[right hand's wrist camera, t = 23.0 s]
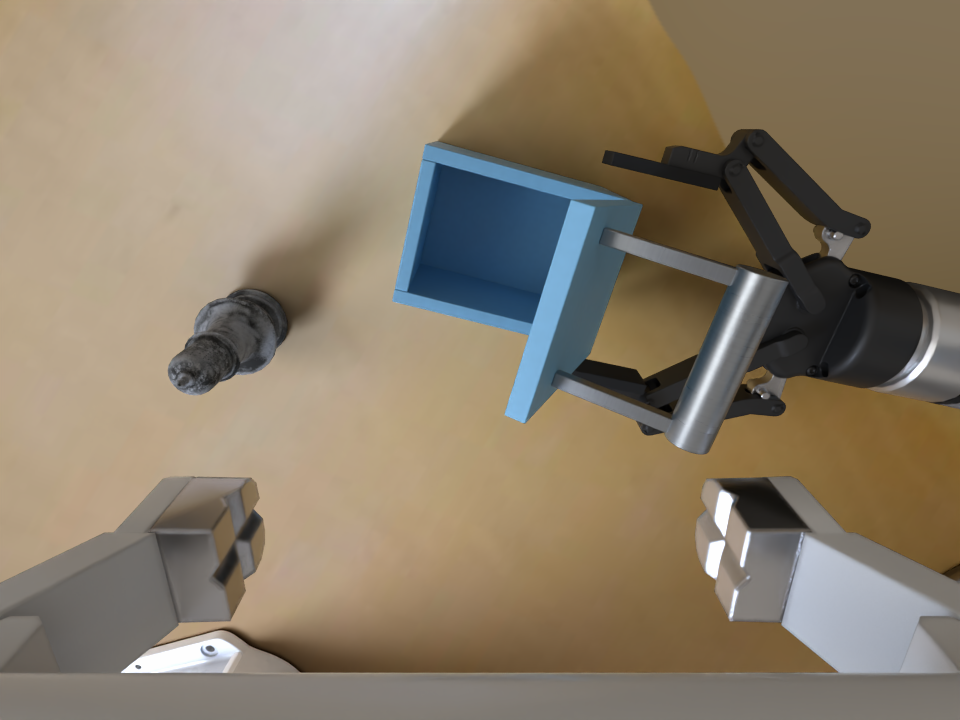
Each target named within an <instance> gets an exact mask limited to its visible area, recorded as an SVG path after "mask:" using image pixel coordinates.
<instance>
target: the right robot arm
mask: <svg viewBox="0 0 960 720" xmlns="http://www.w3.org/2000/svg"><path fill="white" fill-rule="evenodd" d="M258 500H259V494H258V489H257V484H256V482H255V481H254V480H253V479H252V478H232V477H168V478H164V479H162V480H161V481H160V483H159V484H158V485H157V486H156V487H155V488H154V489H153V490H152V491H151V492H150V493H149V495H148V496H147V497H146V498H145V499H144V500H143V501H142V502H141V503H140V504H139V505H138V507H137V508H136V509H135V510H134V511H133V512H132V513H131V514H130V515H129V516H128V517H127V519H126V520H125V521H124V522H123V523H122V524H121V525H120V526H119V527H118V528H117V529H116V531H115V532H114V533H103V534H101V535H99V536H96V537H94V538H92V539H90V540H88V541H86V542H84V543H82V544H80V545H78V546H76V547H74V548H72V549H70V550H67V551H65V552H63V553H61V554H59V555H57V556H55V557H53V558H51V559H49V560H47V561H45V562H43V563H41V564H38V565H36V566H34V567H32V568H30V569H28V570H26V571H24V572H22V573H20V574H18V575H16V576H14V577H11V578H9V579H7V580H5V581H3V582H1V583H0V720H960V583H959V582H957V581H954V580H952V579H950V578H948V577H946V576H944V575H942V574H940V573H938V572H936V571H934V570H932V569H930V568H928V567H926V566H923V565H921V564H919V563H917V562H915V561H913V560H911V559H909V558H907V557H905V556H903V555H901V554H899V553H897V552H895V551H892V550H890V549H888V548H886V547H884V546H882V545H880V544H878V543H876V542H874V541H872V540H870V539H868V538H866V537H864V536H861V535H859V534H857V533H846V532H845V531H844V529H843V528H842V527H841V526H840V525H839V524H838V523H837V522H836V521H835V520H834V519H833V517H832V516H831V515H830V514H829V513H828V512H827V511H826V510H825V509H824V508H823V507H822V505H821V504H820V503H819V502H818V501H817V500H816V499H815V498H814V497H813V496H812V495H811V493H810V492H809V491H808V490H807V489H806V488H805V487H804V486H803V485H802V484H801V483H800V481H799V480H798V479H796V478H793V477H791V476H783V477H762V478H719V479H706V481H705V483H704V485H703V488H702V493H701V500H702V502H703V503H704V505H705V507H706V508H707V509H706V510H705V511H704V512H703V513H702V514H701V515H700V516H699V517H698V518H697V523H696V530H695V542H696V551H697V554H698V558H699V561H700V563H701V565H702V567H703V570H704V572H706V573H707V574H708V575H710V576H711V577H713V578H714V579H716V584H715V590H714V591H715V593H716V595H717V597H718V599H719V601H720V603H721V605H722V607H723V609H724V611H725V613H726V615H727V616H728V618H729V620H730V621H743V622H779V623H782V624H781V625H782V626H783V627H784V628H786V629H787V630H788V631H789V632H790V633H792V634H793V635H794V636H795V637H797V638H798V639H799V640H800V641H801V642H803V643H804V644H805V645H806V646H807V647H809V648H810V649H811V650H812V651H814V652H815V653H816V654H817V655H818V656H820V657H821V658H822V659H823V660H824V661H826V662H827V663H828V664H829V665H831V666H832V667H833V668H834V669H835V670H837V671H838V672H839V673H300V672H299V671H298V670H297V669H296V668H294V667H293V666H292V665H291V664H289V663H288V662H286V661H284V660H283V659H281V658H279V657H277V656H275V655H272V654H270V653H267V652H264V651H261V650H258V649H256V648H253V647H251V646H249V645H248V644H246V643H245V642H244V641H243V640H241V639H240V638H238V637H237V636H235V635H234V634H232V633H230V632H228V631H224V630H219V631H215V632H211V633H207V634H203V635H200V636H196V637H192V638H188V639H185V640H181V641H177V642H173V643H170V644H166V645H162V646H158V647H155V648H152V647H153V646H154V645H155V644H156V643H158V642H159V641H160V640H161V639H162V638H164V637H165V636H166V635H167V634H169V633H170V632H171V631H172V630H173V629H175V628H176V627H177V626H178V625H179V624H178V623H181V622H216V621H230V620H231V619H232V617H233V615H234V613H235V611H236V609H237V607H238V605H239V603H240V601H241V599H242V597H243V595H244V593H245V591H246V590H245V584H244V579H246V578H247V577H249V576H250V575H252V574H253V573H254V572H256V570H257V567H258V565H259V563H260V561H261V558H262V554H263V549H264V545H265V528H264V522H263V518H262V517H261V516H260V515H259V514H258V513H257V512H256V511H255V510H254V509H253V508H254V507H255V505H256V503H257V502H258ZM150 648H151V649H150Z"/></svg>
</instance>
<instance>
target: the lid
mask: <svg viewBox="0 0 960 720" xmlns="http://www.w3.org/2000/svg"><path fill="white" fill-rule="evenodd" d="M642 206H643V205H642V204H639V203H636V202H632V201H629V200H575V199H573V200H571V202H570V205H569V208H568V211H567V214H566V218H565V221H564V224H563V227H562V231H561V234H560V237H559V240H558V244H557V247H556V250H555V253H554V256H553V260H552V263H551V266H550V269H549V273H548V276H547V279H546V282H545V285H544V289H543V292H542V295H541V298H540V302H539V305H538V308H537V311H536V315H535V318H534V321H533V324H532V327H531V331H530V334H529V337H528V340H527V344H526V347H525V350H524V353H523V356H522V360H521V363H520V366H519V369H518V373H517V376H516V379H515V382H514V386H513V389H512V392H511V395H510V398H509V402H508V405H507V408H506V411H505V415H506V416H508V417H511V418H513V419H515V420H517V421H520V422H522V423H526V422H527V421H528V420H529V419H530V418H531V417H532V416H533V415H534V413H535V412H536V411H537V410H538V409H539V408H540V407H541V406H542V405H543V404H544V403H545V402H546V401H547V399H548V398H549V397H550V396H551V395H552V394H553V393H554V392H555V391H556V390H557V389H560V390H562V391H565V392H567V393H570V394H572V395H575V396H577V397H580V398H582V399H584V400H587V401H589V402H592V403H594V404H597V405H599V406H602V407H604V408H606V409H609V410H611V411H614V412H616V413H619V414H621V415H624V416H626V417H628V418H631V419H633V420H636V421H638V422H641V423H643V424H646V425H648V426H650V427H653V428H655V429H658V430H660V431H663V432H665V437H666V438H667V439H668V440H669V441H670V442H671V443H672V444H674V445H675V446H677V447H679V448H681V449H683V450H685V451H688V452H691V453H695V454H707V453H708V452H709V451H710V448H711V446H712V444H713V442H714V440H715V438H716V436H717V434H718V431H719V429H720V427H721V425H722V423H723V421H724V419H725V417H726V414H727V412H728V410H729V408H730V406H731V404H732V402H733V400H734V397H735V395H736V393H737V391H738V389H739V387H740V385H741V383H742V380H743V378H744V376H745V374H746V372H747V370H748V368H749V366H750V363H751V361H752V359H753V357H754V355H755V353H756V351H757V349H758V346H759V344H760V342H761V340H762V338H763V336H764V334H765V332H766V329H767V327H768V325H769V323H770V321H771V319H772V317H773V315H774V313H775V310H776V308H777V306H778V304H779V302H780V300H781V298H782V296H783V293H784V291H785V289H786V287H787V285H788V283H789V281H788V280H787V279H785V278H783V277H781V276H778V275H776V274H773V273H770V272H767V271H764V270H761V269H757V268H754V267H750V266H746V265H741V264H738V265H737V266H736V267H733V266H730V265H727V264H724V263H720V262H717V261H714V260H711V259H708V258H704V257H701V256H698V255H695V254H692V253H688V252H685V251H682V250H679V249H676V248H673V247H669V246H666V245H663V244H660V243H657V242H653V241H650V240H647V239H644V238H641V237H637V236H634V235H632V234H633V232H634V229H635V226H636V223H637V220H638V218H639V215H640V212H641V209H642ZM626 253H629V254H632V255H635V256H638V257H641V258H644V259H647V260H650V261H654V262H657V263H660V264H663V265H666V266H669V267H672V268H675V269H678V270H681V271H684V272H688V273H691V274H694V275H697V276H700V277H703V278H706V279H709V280H712V281H715V282H718V283H721V284H725V285H728V286H727V289H726V291H725V293H724V296H723V298H722V300H721V303H720V305H719V307H718V310H717V312H716V314H715V316H714V319H713V321H712V323H711V326H710V328H709V330H708V333H707V335H706V337H705V340H704V342H703V344H702V347H701V349H700V351H699V354H698V356H697V358H696V360H695V363H694V365H693V367H692V370H691V372H690V374H689V377H688V379H687V381H686V384H685V386H684V388H683V391H682V393H681V395H680V398H679V400H678V402H677V405H676V407H675V409H674V411H673V414H670V413H667V412H665V411H662V410H660V409H657V408H655V407H652V406H650V405H647V404H645V403H642V402H640V401H637V400H635V399H632V398H630V397H627V396H625V395H622V394H620V393H617V392H615V391H612V390H610V389H607V388H605V387H602V386H600V385H597V384H595V383H592V382H590V381H587V380H585V379H582V378H580V377H577V376H575V375H572V373H573V372H574V370H575V369H576V368H577V367H578V366H579V365H580V364H581V363H582V362H583V361H584V360H585V359H586V358H587V356H588V355H589V354H590V352H591V350H592V347H593V344H594V341H595V338H596V336H597V333H598V330H599V327H600V324H601V321H602V319H603V316H604V313H605V310H606V307H607V305H608V302H609V299H610V296H611V293H612V291H613V288H614V285H615V282H616V279H617V277H618V274H619V271H620V268H621V265H622V263H623V260H624V257H625V254H626Z"/></svg>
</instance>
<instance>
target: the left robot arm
mask: <svg viewBox="0 0 960 720" xmlns="http://www.w3.org/2000/svg"><path fill="white" fill-rule="evenodd" d="M602 163H604V164H608V165H612V166H616V167H620V168H624V169H629V170H633V171H637V172H641V173H645V174H650V175H654V176H658V177H662V178H666V179H671V180H675V181H679V182H683V183H687V184H692V185H696V186H700V187H704V188H708V189H713V190H718V187H719V189H720V190H721V192H722V194H723V195H724V197H725V199H726V201H727V202H728V204H729V206H730V208H731V209H732V211H733V213H734V214H735V216H736V218H737V220H738V221H739V223H740V225H741V226H742V228H743V230H744V232H745V233H746V235H747V237H748V238H749V240H750V242H751V244H752V245H753V247H754V249H755V251H756V256H757V258H758V260H759V262H760V263H761V265H762V267H763V268H764V270H765V271H767V272H770V273H773V274H776V275H778V276H781V277H783V278H785V279H787V280H788V281H789V283H788V285H787V287H786V289H785V291H784V293H783V296H782V298H781V300H780V302H779V304H778V306H777V308H776V310H775V313H774V315H773V317H772V319H771V321H770V323H769V325H768V327H767V329H766V332H765V334H764V336H763V338H762V340H761V342H760V344H759V346H758V349H757V351H756V353H755V355H754V357H753V359H752V361H751V363H750V366H749V368H748V370H747V372H750V371H752V370H755V369H757V368H759V367H761V366H763V367H764V368H765V369H766V370H767V372H766V374H765V375H764V376H763V377H761V378H758V379H749V380H748V381H747V384H741V385H740V387H739V389H738V391H737V393H736V395H735V397H734V400H733V402H732V404H731V406H730V408H729V410H728V412H727V414H726V417H725V419H730V418H734V417H739V416H744V415H748V414H756V415H766V416H779V415H781V414H782V413H784V411H785V409H786V405H785V403H784V402H783V401H782V400H780V397H781V394H782V391H783V388H784V385H785V382H786V379H787V378H791V377H794V376H808V377H812V378H816V379H821V380H825V381H830V382H835V383H839V384H844V385H849V386H854V387H859V388H868V389H870V390H873V391H876V392H881V393H886V394H891V395H896V396H901V397H906V398H911V399H916V400H921V401H926V402H930V403H935V404H940V405H945V406H949V407H953V408H958V409H960V294H959V293H955V292H951V291H947V290H942V289H938V288H934V287H930V286H926V285H921V284H917V283H912V282H904V281H902V280H900V279H896V278H892V277H887V276H883V275H879V274H874V273H870V272H866V271H861V270H857V269H853V268H849V267H847V266H846V265H844V263H843V262H842V261H841V260H842V258H843V256H844V255H845V253H846V251H847V250H848V248H849V246H850V244H851V243H852V241H853V239H854V238H863V237H864V236H866V235H867V234H868V233H869V231H870V228H871V224H870V222H869V221H868V220H867V219H865V218H862V217H860V216H857V215H854V214H852V213H849V212H847V211H844V210H842V209H841V208H840V207H839V206H838V205H837V204H836V203H835V202H834V201H833V200H832V199H831V198H830V197H829V196H828V195H827V194H826V193H825V192H824V191H823V190H822V189H821V188H820V187H819V186H818V185H817V183H816V182H815V181H814V180H813V179H812V178H811V177H810V176H809V175H808V174H807V173H806V172H805V171H804V170H803V169H802V168H801V167H800V166H799V165H798V164H797V163H796V162H795V161H794V160H793V159H792V158H791V157H790V156H789V155H788V154H787V153H786V152H785V151H784V150H783V149H782V148H781V147H780V146H779V144H778V143H777V142H776V141H775V140H774V139H773V138H772V137H771V136H770V135H769V134H768V133H767V132H766V131H764V130H760V129H741V130H738V131H736V132H735V133H734V134H733V135H732V137H731V142H730V144H729V145H728V146H727V148H726V149H725V150H724V151H723V152H721V153H719V154H713V153H709V152H704V151H700V150H696V149H692V148H688V147H684V146H669V147H666V148H665V151H664V155H663V158H662V161H661V163H659V162H655V161H651V160H647V159H643V158H638V157H634V156H630V155H626V154H622V153H618V152H613V151H607V150H605V154H604V157H603V161H602ZM748 164H750V166H751V167H752V168H753V169H754V170H755V171H757V172H758V173H759V174H760V175H761V176H762V177H763V178H764V179H765V180H766V181H767V182H768V183H769V184H770V185H771V186H772V187H773V188H774V189H775V190H776V191H777V192H778V193H779V194H780V195H781V196H782V197H783V198H784V199H785V200H786V201H787V202H788V203H789V204H790V205H791V206H792V207H793V208H794V209H795V210H796V211H797V212H798V213H799V214H800V215H801V216H802V217H803V218H804V219H806V220H807V221H809V222H810V223H812V224H815V225H816V226H815V227H814V229H813V232H814V235H815V238H816V239H817V240H819V241H820V243H821V246H822V247H821V251H820V253H814V254H811V255H809V256H806V257H804V258H800V256H799V255H798V254H797V252H796V251H794V250H793V249H792V247H791V246H790V244H789V242H788V240H787V239H786V237H785V235H784V233H783V231H782V230H781V228H780V226H779V224H778V223H777V221H776V219H775V217H774V215H773V214H772V212H771V210H770V208H769V206H768V205H767V203H766V201H765V199H764V197H763V196H762V194H761V192H760V190H759V188H758V187H757V185H756V183H755V181H754V179H753V178H752V176H751V174H750V172H749V170H748V169H747V167H746V166H747V165H748ZM697 356H698V354H697V355H695V356H693V357H691V358H688V359H686V360H684V361H682V362H680V363H677V364H675V365H673V366H671V367H669V368H667V369H664V370H662V371H660V372H658V373H656V374H653V375H651V376H649V377H647V378H645V379H642V377H641V376H640V374H639V373H638V371H637V370H635V369H631V368H626V367H621V366H616V365H612V364H607V363H602V362H597V361H592V360H588V359H585V360H584V361H583V362H582V363H581V364H580V365H579V366H578V367H577V368H576V369H575V370H574V372H573V373H572V375H575V376H577V377H580V378H582V379H585V380H587V381H590V382H592V383H595V384H597V385H600V386H602V387H605V388H607V389H610V390H612V391H615V392H617V393H620V394H622V395H625V396H627V397H630V398H632V399H635V400H637V401H640V402H642V403H645V404H647V405H650V406H652V407H655V408H657V409H660V410H662V411H665V412H667V413H670V414H673V411H674V409H675V407H676V405H677V402H678V400H679V398H680V395H681V393H682V391H683V388H684V386H685V384H686V381H687V379H688V377H689V374H690V372H691V370H692V367H693V365H694V363H695V360H696V358H697ZM725 419H724V420H725ZM636 422H637V423H638V425H639V427H640V429H641V431H642V433H644V434H645V435H655V434H660V433H664V432H663V431H660V430H658V429H655V428H653V427H650V426H648V425H646V424H643V423H641V422H638V421H636ZM943 575H944V576H946V577H948V578H950V579H952V580H954V581H957V582H959V583H960V566H958V567H956V568H954V569H952V570H950V571H948V572H946V573H945V574H943Z"/></svg>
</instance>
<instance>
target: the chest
mask: <svg viewBox="0 0 960 720" xmlns="http://www.w3.org/2000/svg"><path fill="white" fill-rule="evenodd" d="M573 199H575V200H629V199H627V198H624V197H622V196H620V195H618V194H616V193H614V192H612V191H610V190H607V189H605V188H603V187H601V186H597V185H594V184H590V183H586V182H583V181H579V180H576V179H572V178H568V177H565V176H561V175H558V174H554V173H550V172H547V171H543V170H539V169H536V168H532V167H529V166H525V165H521V164H518V163H514V162H511V161H507V160H503V159H500V158H496V157H493V156H489V155H485V154H482V153H478V152H475V151H471V150H467V149H464V148H460V147H456V146H453V145H449V144H446V143H442V142H438V141H436V142H432V143H428V144H425V148H424V153H423V160H422V163H421V167H420V172H419V177H418V182H417V186H416V191H415V196H414V201H413V205H412V210H411V215H410V220H409V224H408V229H407V234H406V239H405V243H404V248H403V253H402V257H401V262H400V267H399V272H398V276H397V281H396V286H395V290H394V295H393V300H392V301H393V302H397V303H401V304H405V305H409V306H413V307H417V308H421V309H425V310H429V311H433V312H437V313H441V314H445V315H450V316H454V317H458V318H462V319H466V320H470V321H474V322H478V323H482V324H486V325H490V326H494V327H498V328H502V329H506V330H510V331H514V332H518V333H522V334H526V335H529V334H530V331H531V327H532V324H533V321H534V318H535V315H536V311H537V308H538V305H539V302H540V298H541V295H542V292H543V289H544V285H545V282H546V279H547V276H548V273H549V269H550V266H551V263H552V260H553V256H554V253H555V250H556V247H557V244H558V240H559V237H560V234H561V231H562V227H563V224H564V221H565V218H566V214H567V211H568V208H569V205H570V202H571V200H573ZM629 201H631V200H629Z"/></svg>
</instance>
